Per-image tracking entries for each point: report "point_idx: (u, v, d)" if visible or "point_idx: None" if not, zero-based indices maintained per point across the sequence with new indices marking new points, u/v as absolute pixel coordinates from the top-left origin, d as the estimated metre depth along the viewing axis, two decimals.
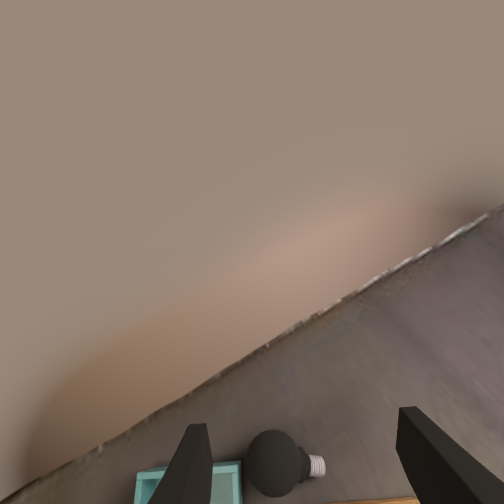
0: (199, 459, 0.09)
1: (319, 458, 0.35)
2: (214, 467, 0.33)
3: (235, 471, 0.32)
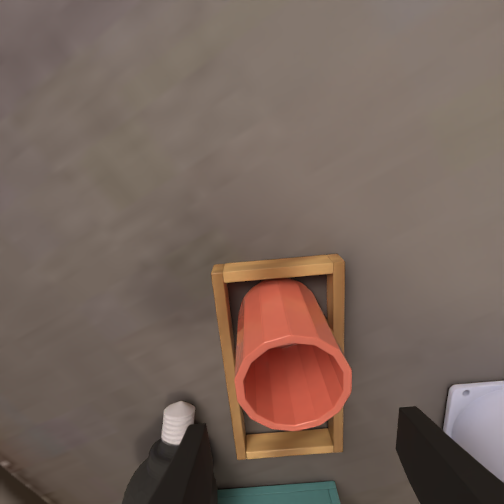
0: (199, 459, 0.09)
1: (165, 420, 0.20)
2: None
3: None
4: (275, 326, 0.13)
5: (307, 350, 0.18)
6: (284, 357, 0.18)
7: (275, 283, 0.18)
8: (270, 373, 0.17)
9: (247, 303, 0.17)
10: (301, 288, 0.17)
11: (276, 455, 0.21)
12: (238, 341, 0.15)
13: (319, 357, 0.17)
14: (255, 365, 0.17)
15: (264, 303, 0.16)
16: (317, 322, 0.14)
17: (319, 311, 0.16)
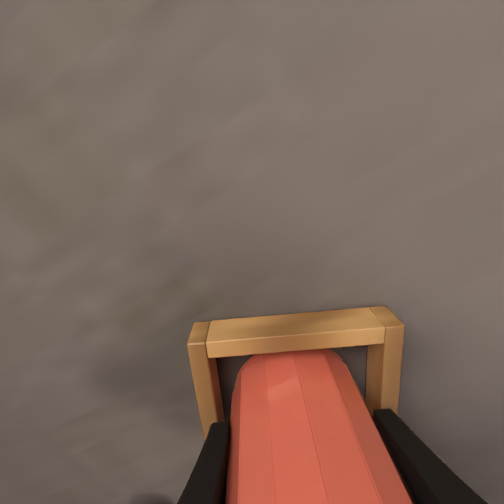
0: (225, 457, 0.09)
1: None
2: None
3: None
4: (298, 483, 0.07)
5: None
6: None
7: (289, 355, 0.11)
8: None
9: (245, 389, 0.11)
10: (331, 363, 0.11)
11: None
12: (229, 475, 0.09)
13: None
14: None
15: (274, 404, 0.09)
16: (375, 463, 0.07)
17: (367, 417, 0.09)
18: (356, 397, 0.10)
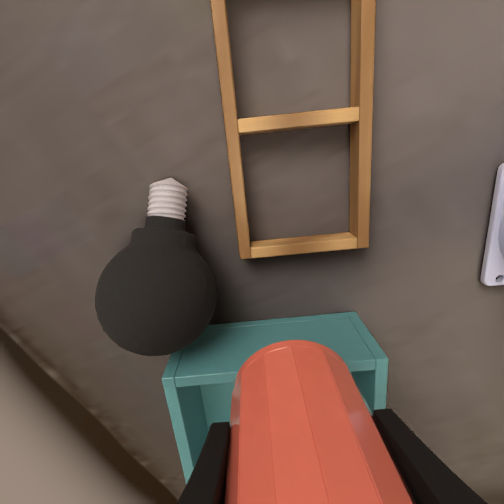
0: (225, 457, 0.09)
1: (150, 192, 0.16)
2: (171, 414, 0.17)
3: (172, 381, 0.16)
4: (298, 482, 0.07)
5: None
6: None
7: (288, 354, 0.11)
8: None
9: (245, 388, 0.11)
10: (331, 362, 0.11)
11: (287, 252, 0.17)
12: (229, 474, 0.09)
13: None
14: None
15: (274, 403, 0.09)
16: (374, 462, 0.07)
17: (367, 416, 0.09)
18: (356, 396, 0.10)
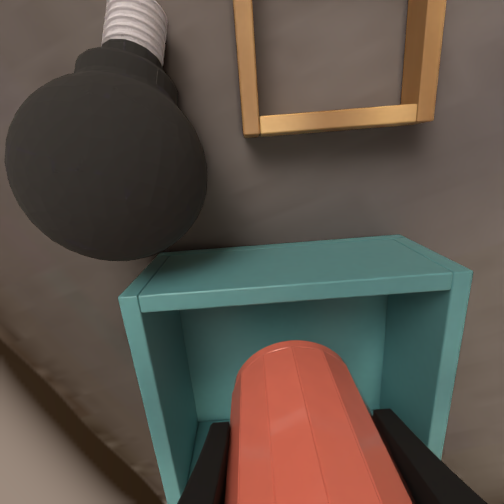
0: (225, 457, 0.09)
1: (108, 10, 0.10)
2: (134, 358, 0.11)
3: (135, 302, 0.10)
4: (298, 483, 0.07)
5: None
6: None
7: (288, 354, 0.11)
8: None
9: (245, 389, 0.11)
10: (331, 363, 0.11)
11: (314, 125, 0.12)
12: (229, 475, 0.09)
13: None
14: None
15: (273, 403, 0.09)
16: (375, 463, 0.07)
17: (367, 417, 0.09)
18: (356, 397, 0.10)
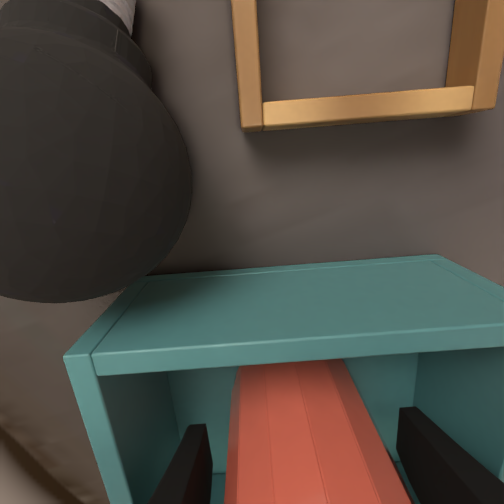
0: (199, 459, 0.09)
1: None
2: (91, 434, 0.08)
3: (88, 362, 0.07)
4: (296, 475, 0.07)
5: None
6: None
7: None
8: None
9: (244, 385, 0.11)
10: (329, 360, 0.11)
11: (335, 114, 0.09)
12: (229, 468, 0.09)
13: None
14: None
15: (272, 399, 0.09)
16: (371, 456, 0.08)
17: (364, 412, 0.09)
18: (353, 393, 0.10)
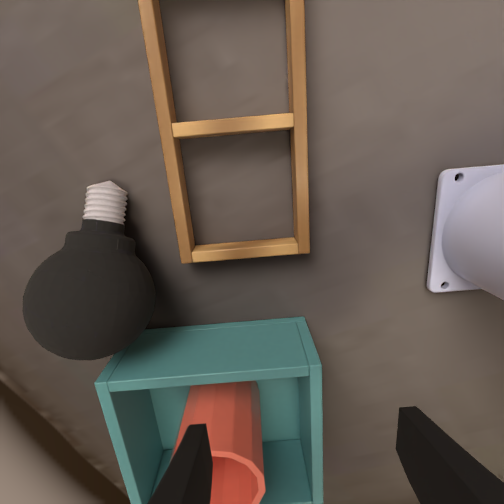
0: (199, 459, 0.09)
1: (86, 195, 0.16)
2: (106, 419, 0.16)
3: (106, 385, 0.16)
4: None
5: None
6: None
7: None
8: None
9: (190, 394, 0.20)
10: None
11: (229, 257, 0.17)
12: (176, 437, 0.17)
13: None
14: None
15: (200, 401, 0.18)
16: (239, 428, 0.16)
17: (248, 408, 0.18)
18: (246, 397, 0.19)
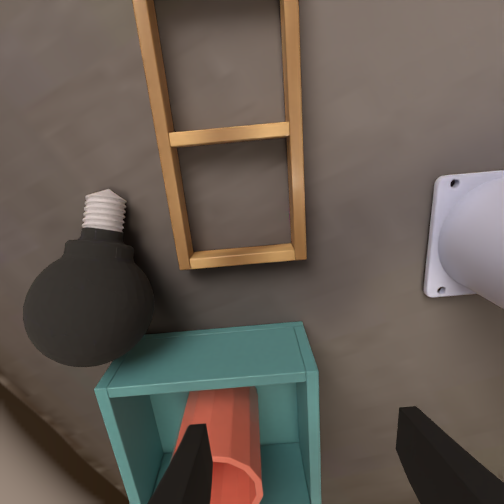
0: (199, 459, 0.09)
1: (85, 204, 0.16)
2: (106, 424, 0.17)
3: (105, 391, 0.16)
4: None
5: None
6: None
7: None
8: None
9: (189, 398, 0.20)
10: None
11: (226, 263, 0.18)
12: (175, 442, 0.18)
13: None
14: None
15: (199, 406, 0.18)
16: (237, 433, 0.16)
17: (246, 413, 0.18)
18: (245, 402, 0.19)
